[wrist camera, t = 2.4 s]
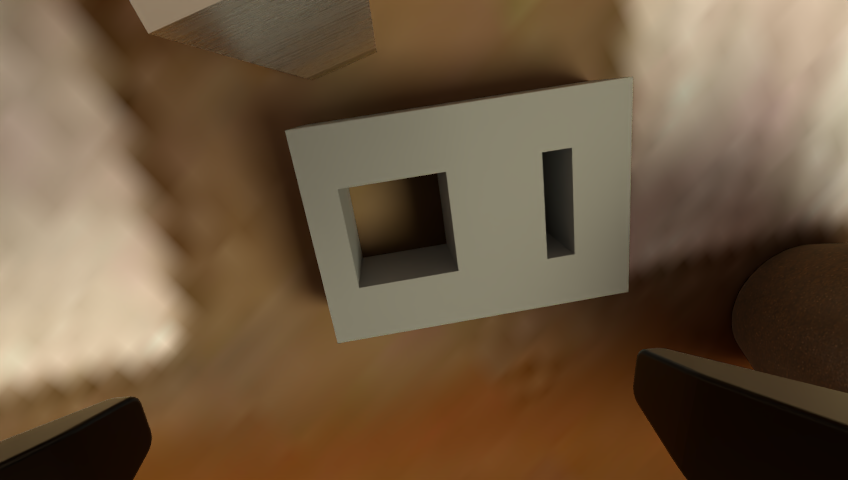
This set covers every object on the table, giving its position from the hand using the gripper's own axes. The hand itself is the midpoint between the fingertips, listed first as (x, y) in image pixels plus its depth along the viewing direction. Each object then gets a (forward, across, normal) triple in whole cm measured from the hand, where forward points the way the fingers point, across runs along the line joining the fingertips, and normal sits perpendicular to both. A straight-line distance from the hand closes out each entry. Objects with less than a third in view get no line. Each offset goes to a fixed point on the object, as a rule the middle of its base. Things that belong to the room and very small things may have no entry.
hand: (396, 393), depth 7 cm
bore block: (+13, +3, 0) cm, 13 cm away
